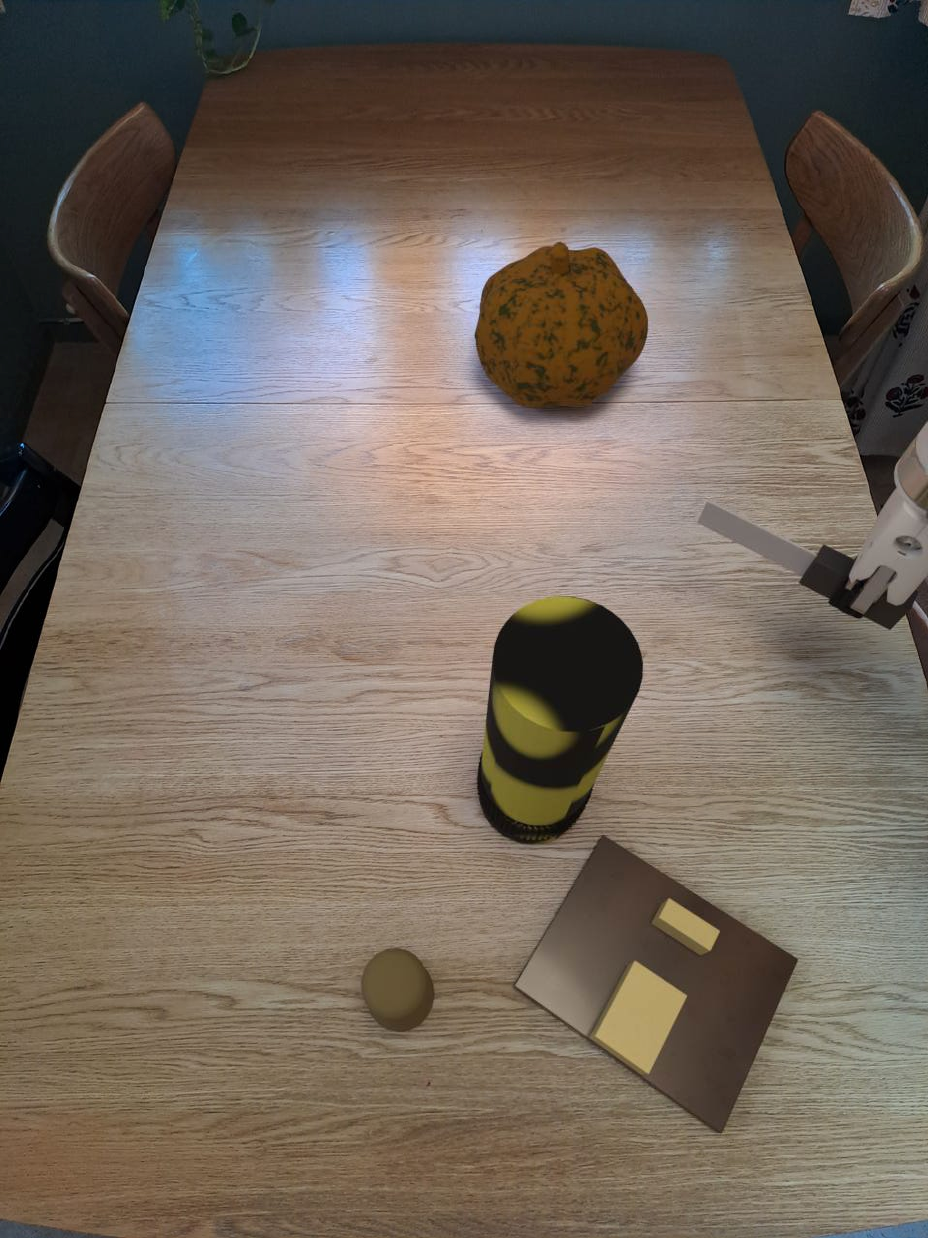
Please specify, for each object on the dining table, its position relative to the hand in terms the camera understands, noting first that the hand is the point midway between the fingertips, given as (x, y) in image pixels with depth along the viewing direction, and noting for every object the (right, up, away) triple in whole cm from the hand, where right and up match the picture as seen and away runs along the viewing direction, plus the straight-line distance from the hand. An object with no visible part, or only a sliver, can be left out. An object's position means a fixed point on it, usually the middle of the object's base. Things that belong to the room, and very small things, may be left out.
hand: (850, 597), depth 78 cm
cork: (-42, -35, -4) cm, 55 cm away
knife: (-4, +2, +2) cm, 5 cm away
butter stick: (-21, -36, -6) cm, 43 cm away
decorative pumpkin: (-24, +30, +33) cm, 51 cm away
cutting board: (-19, -34, -3) cm, 39 cm away
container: (-29, -19, +5) cm, 36 cm away
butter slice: (-16, -30, -2) cm, 34 cm away
